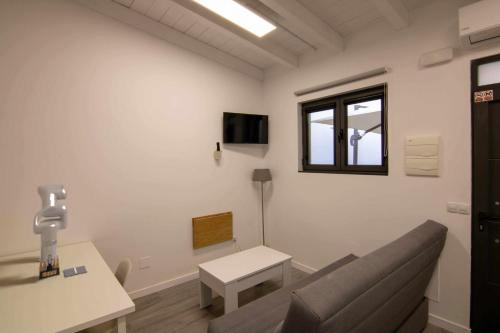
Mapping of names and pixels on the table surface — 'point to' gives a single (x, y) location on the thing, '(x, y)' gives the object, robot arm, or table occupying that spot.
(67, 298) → the table surface
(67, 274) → the mat
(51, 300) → the table surface
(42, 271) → the ammunition clip
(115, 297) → the table surface
